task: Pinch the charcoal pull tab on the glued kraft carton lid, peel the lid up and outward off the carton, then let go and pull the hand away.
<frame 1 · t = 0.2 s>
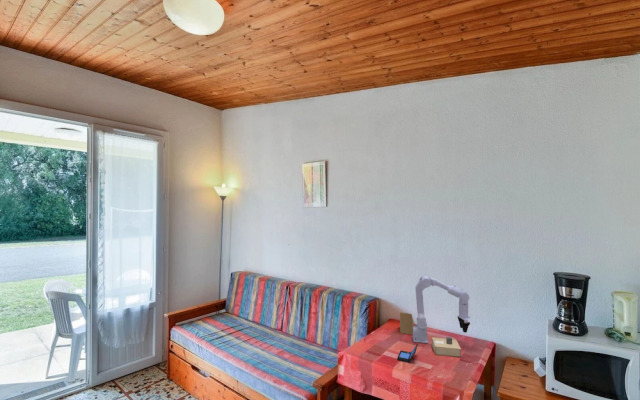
hand: (463, 330, 211), 10 cm above the table, tool pointing down, fingers open, 7 cm apart
carton: (445, 350, 202), on the table
handheld game console: (407, 358, 193), on the table
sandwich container: (407, 330, 236), on the table
carton lid: (445, 343, 202), point 5 cm above the table, slide at 0.0 cm
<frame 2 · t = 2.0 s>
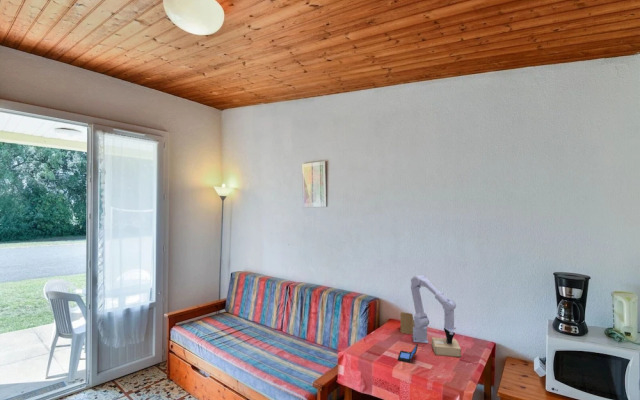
hand: (449, 341, 202), 6 cm above the table, tool pointing down, fingers closed on carton lid, 3 cm apart
carton lid: (445, 343, 202), point 5 cm above the table, slide at 0.0 cm, touching gripper
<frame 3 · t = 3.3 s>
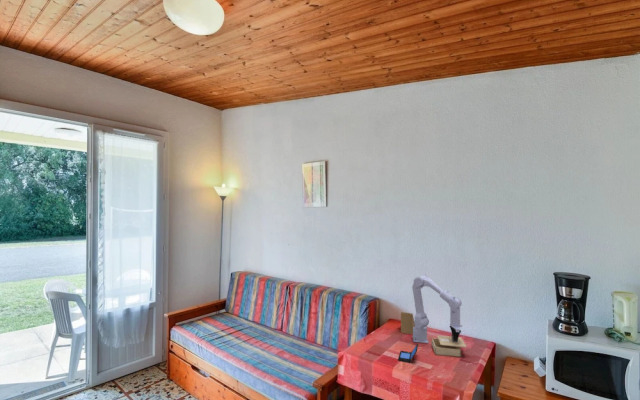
hand: (455, 339, 201), 8 cm above the table, tool pointing down, fingers closed on carton lid, 3 cm apart
carton lid: (451, 341, 202), point 6 cm above the table, slide at 3.6 cm, touching gripper
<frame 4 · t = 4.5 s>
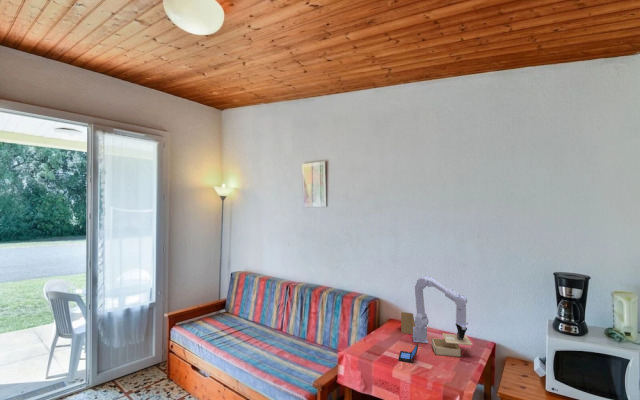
hand: (461, 337, 201), 10 cm above the table, tool pointing down, fingers closed on carton lid, 3 cm apart
carton lid: (456, 339, 201), point 8 cm above the table, slide at 7.3 cm, touching gripper
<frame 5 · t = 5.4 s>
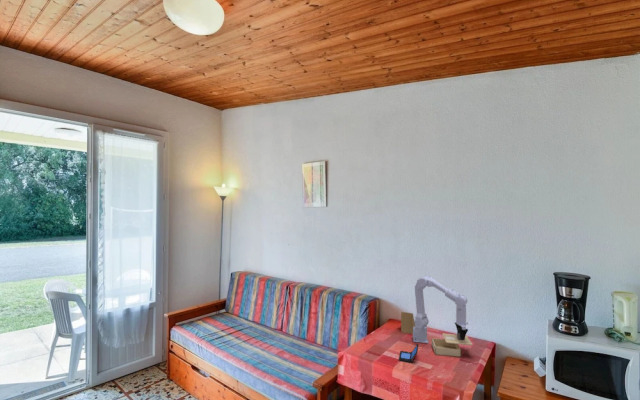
hand: (461, 337, 201), 10 cm above the table, tool pointing down, fingers open, 7 cm apart
carton lid: (456, 339, 201), point 8 cm above the table, slide at 7.3 cm
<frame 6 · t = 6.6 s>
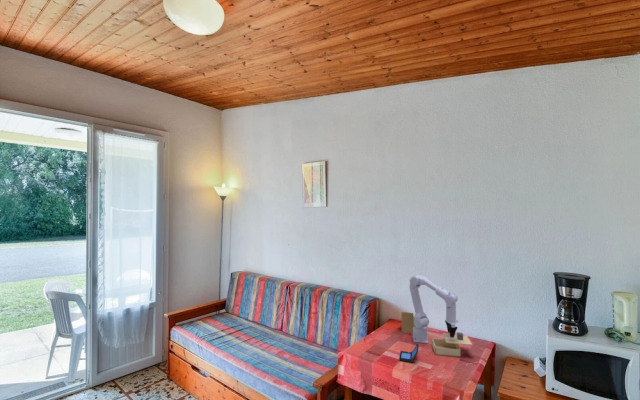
hand: (450, 334, 202), 10 cm above the table, tool pointing down, fingers open, 7 cm apart
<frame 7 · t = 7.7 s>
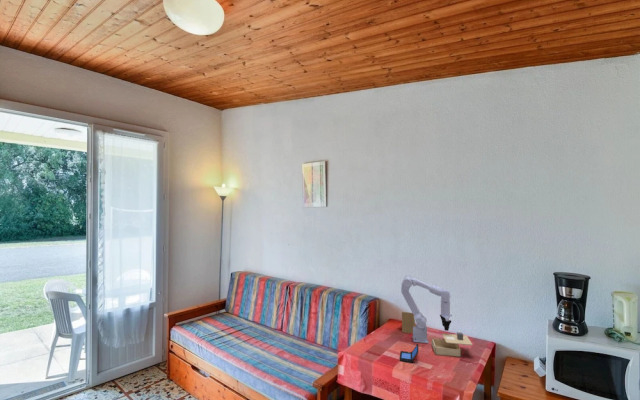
hand: (445, 328, 213), 10 cm above the table, tool pointing down, fingers open, 7 cm apart
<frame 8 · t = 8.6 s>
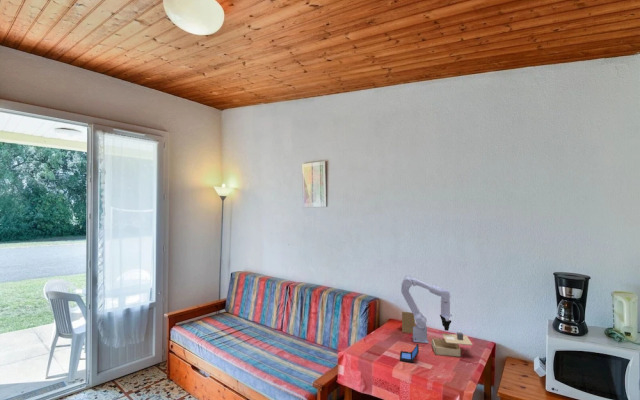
hand: (445, 328, 213), 10 cm above the table, tool pointing down, fingers open, 7 cm apart
at the end: carton lid slide at 7.3 cm; the gripper is holding nothing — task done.
